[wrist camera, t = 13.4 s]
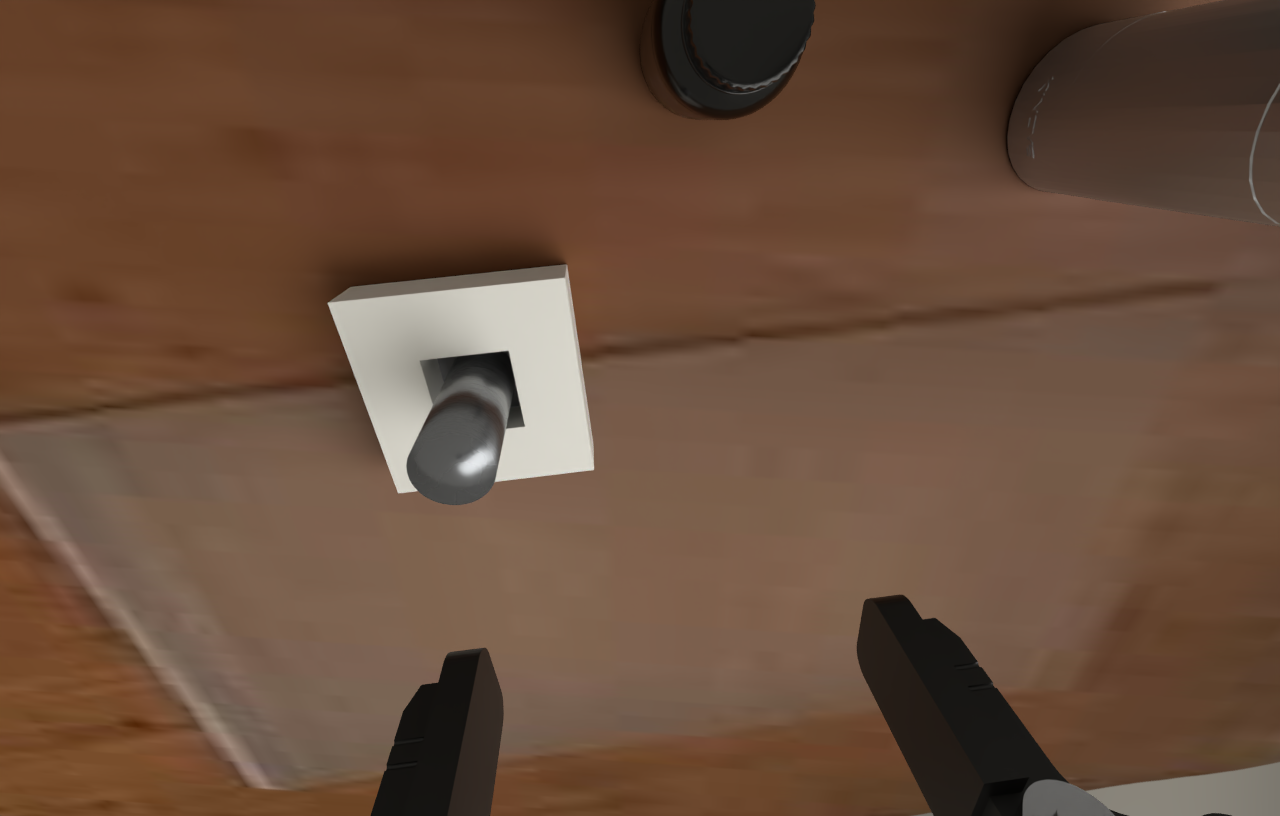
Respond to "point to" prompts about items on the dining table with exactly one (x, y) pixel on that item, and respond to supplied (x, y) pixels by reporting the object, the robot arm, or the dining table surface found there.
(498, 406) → the graphite peg
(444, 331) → the socket block
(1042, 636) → the dining table surface
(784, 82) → the supplement bottle
